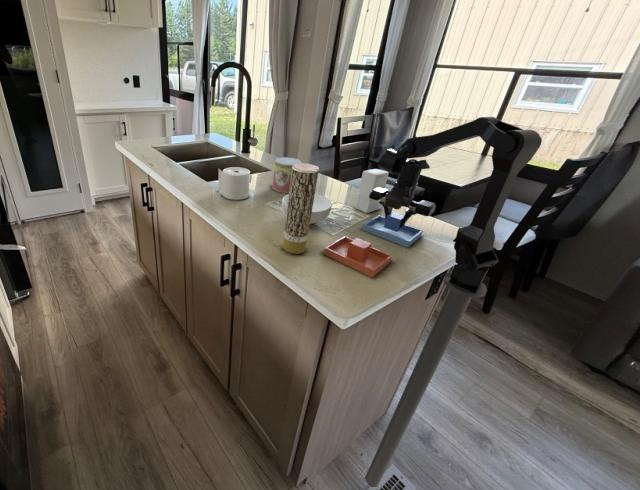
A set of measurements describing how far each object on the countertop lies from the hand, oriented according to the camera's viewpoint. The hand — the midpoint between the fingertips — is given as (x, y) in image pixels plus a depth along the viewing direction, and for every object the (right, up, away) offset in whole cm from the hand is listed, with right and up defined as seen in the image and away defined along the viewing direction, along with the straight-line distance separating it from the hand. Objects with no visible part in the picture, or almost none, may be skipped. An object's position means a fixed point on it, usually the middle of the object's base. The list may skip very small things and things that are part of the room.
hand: (393, 224), depth 107 cm
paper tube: (-35, -8, -10) cm, 37 cm away
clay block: (-17, -9, -13) cm, 24 cm away
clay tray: (-17, -10, -13) cm, 24 cm away
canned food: (-31, +17, +34) cm, 49 cm away
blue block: (0, -1, 0) cm, 1 cm away
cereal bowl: (-28, +2, +8) cm, 29 cm away
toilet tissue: (-53, +13, +25) cm, 60 cm away
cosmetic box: (-2, +7, +19) cm, 20 cm away
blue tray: (0, -3, +2) cm, 3 cm away
